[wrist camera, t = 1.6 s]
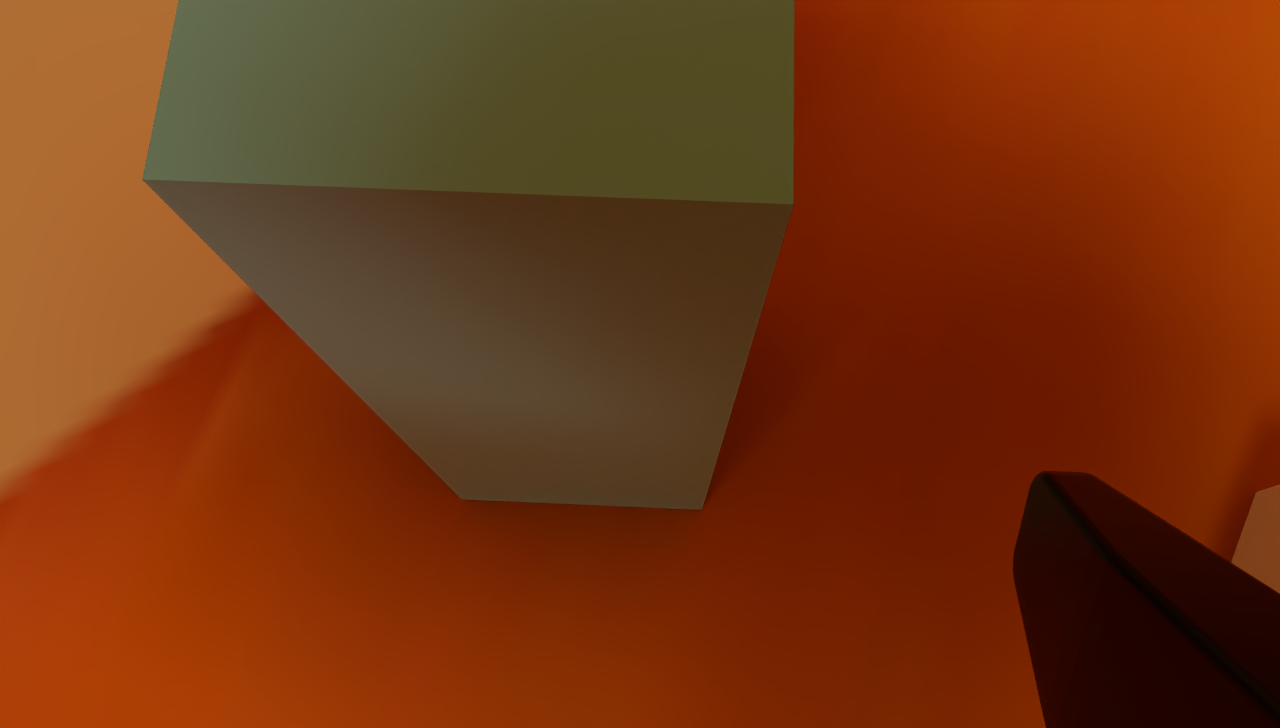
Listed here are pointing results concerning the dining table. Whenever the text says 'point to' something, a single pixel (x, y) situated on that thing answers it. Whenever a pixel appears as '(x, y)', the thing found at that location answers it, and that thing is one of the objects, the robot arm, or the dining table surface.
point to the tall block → (501, 217)
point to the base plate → (1261, 539)
